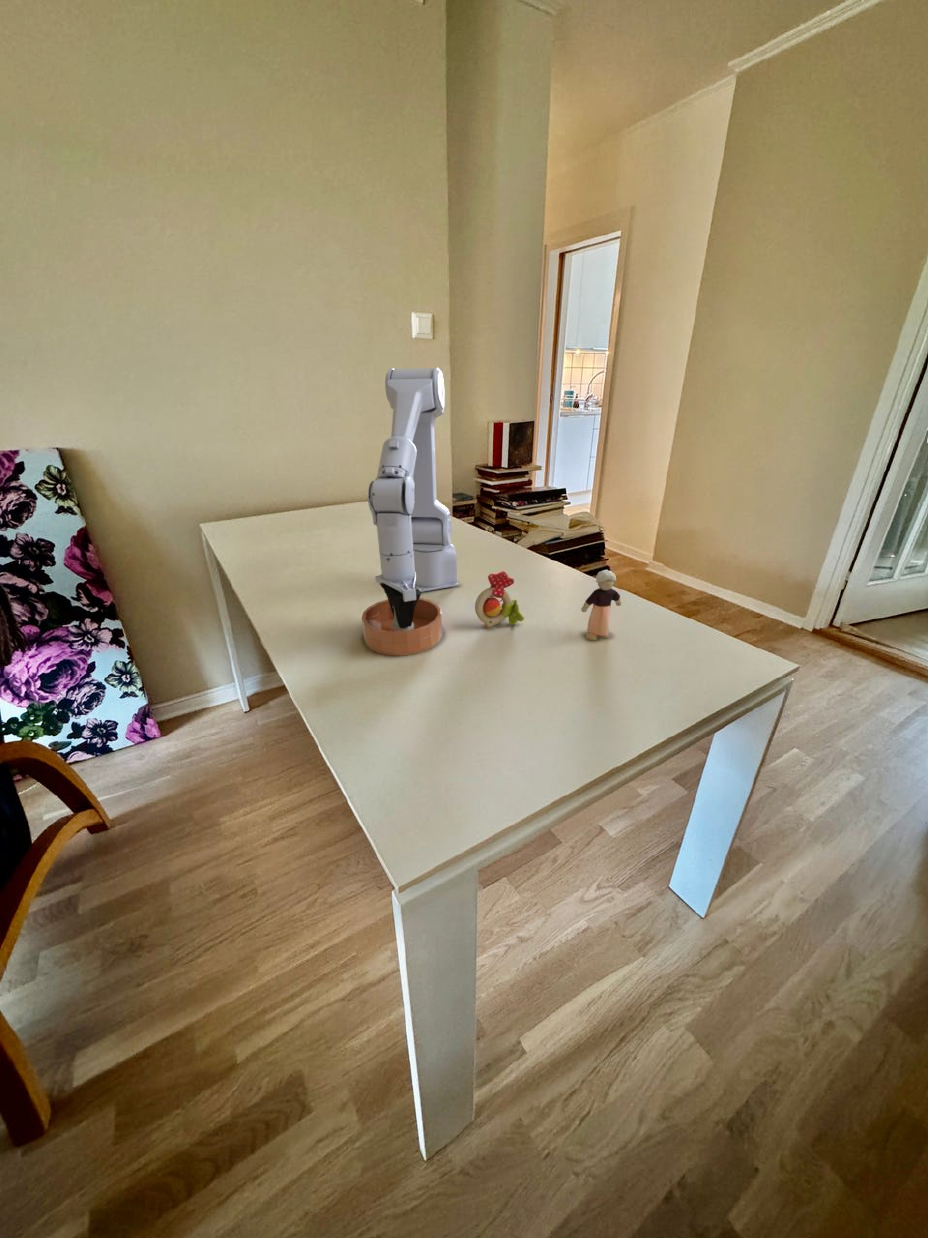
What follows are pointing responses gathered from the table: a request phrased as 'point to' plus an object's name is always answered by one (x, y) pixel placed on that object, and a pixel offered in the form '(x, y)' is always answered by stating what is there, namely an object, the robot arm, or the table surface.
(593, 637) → the grandmother figurine
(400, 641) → the pan
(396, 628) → the rook chess piece
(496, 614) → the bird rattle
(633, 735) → the table surface
